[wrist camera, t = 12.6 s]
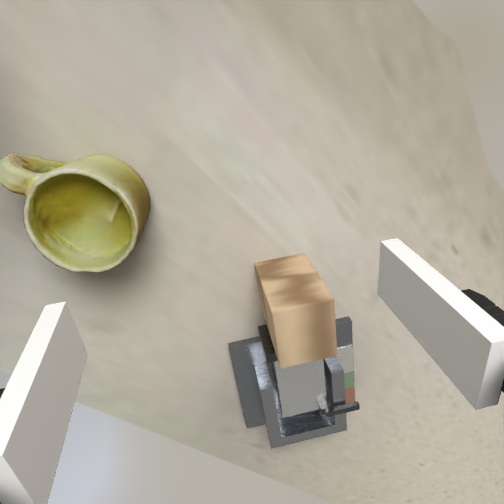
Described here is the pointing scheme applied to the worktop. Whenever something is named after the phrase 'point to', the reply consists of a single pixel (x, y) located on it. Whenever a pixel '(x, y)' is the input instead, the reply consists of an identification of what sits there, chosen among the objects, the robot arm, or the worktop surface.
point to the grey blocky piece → (300, 384)
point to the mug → (79, 208)
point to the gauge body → (265, 394)
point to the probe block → (297, 310)
